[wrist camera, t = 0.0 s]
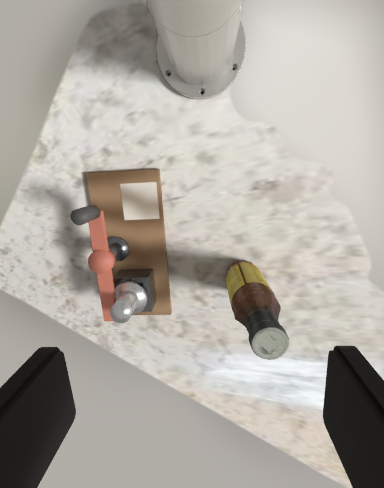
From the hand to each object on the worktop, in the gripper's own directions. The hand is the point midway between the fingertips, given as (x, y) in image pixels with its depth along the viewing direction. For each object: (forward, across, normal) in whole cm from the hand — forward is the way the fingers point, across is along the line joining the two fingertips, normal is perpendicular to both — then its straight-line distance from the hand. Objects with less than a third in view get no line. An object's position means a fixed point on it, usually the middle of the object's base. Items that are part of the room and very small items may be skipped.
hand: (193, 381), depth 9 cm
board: (+37, +14, +5) cm, 39 cm away
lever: (+30, +16, +6) cm, 35 cm away
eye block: (+37, +13, +12) cm, 41 cm away
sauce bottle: (+37, -6, +11) cm, 39 cm away
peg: (+36, +13, +12) cm, 40 cm away
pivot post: (+37, +16, +5) cm, 40 cm away
